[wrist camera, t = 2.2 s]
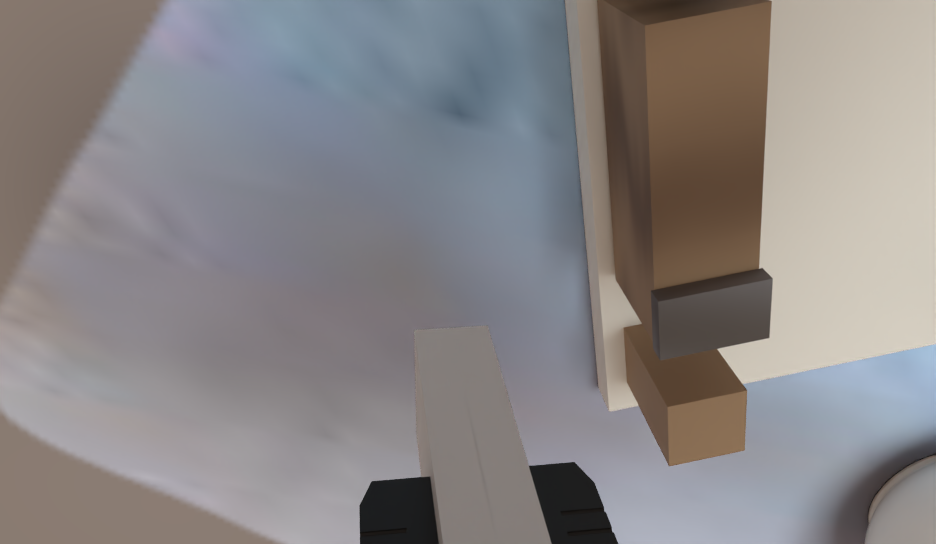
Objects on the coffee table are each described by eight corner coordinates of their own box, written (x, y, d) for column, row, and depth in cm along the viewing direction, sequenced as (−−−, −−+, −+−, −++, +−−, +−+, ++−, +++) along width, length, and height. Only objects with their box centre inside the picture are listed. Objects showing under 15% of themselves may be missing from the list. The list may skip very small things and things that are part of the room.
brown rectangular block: (593, -3, 21) (649, 31, 17) (706, -25, 21) (789, 5, 17) (612, 280, 25) (660, 360, 21) (704, 261, 25) (769, 337, 21)
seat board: (1160, -312, 20) (1463, -374, 15) (1007, 302, 30) (1153, 403, 25) (547, -200, 20) (620, -221, 14) (598, 387, 30) (653, 509, 24)
